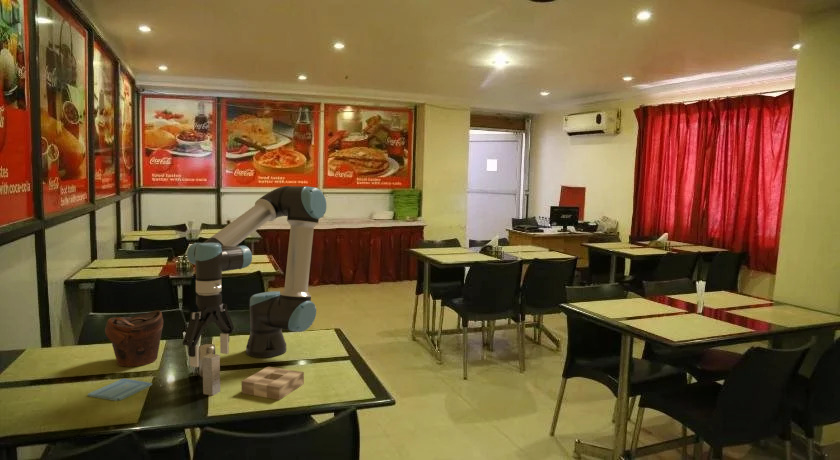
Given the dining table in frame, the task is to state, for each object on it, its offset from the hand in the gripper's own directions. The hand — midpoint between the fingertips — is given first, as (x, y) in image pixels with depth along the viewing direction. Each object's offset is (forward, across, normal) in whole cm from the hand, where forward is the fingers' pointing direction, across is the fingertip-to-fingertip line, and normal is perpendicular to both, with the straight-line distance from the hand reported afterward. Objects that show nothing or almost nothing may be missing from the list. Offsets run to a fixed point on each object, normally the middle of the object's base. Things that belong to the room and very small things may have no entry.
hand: (210, 359), depth 173 cm
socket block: (+11, +11, -16) cm, 22 cm away
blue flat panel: (+12, -8, +28) cm, 31 cm away
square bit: (+11, +1, 0) cm, 11 cm away
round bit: (+11, +13, +12) cm, 20 cm away
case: (+11, +14, +45) cm, 48 cm away
